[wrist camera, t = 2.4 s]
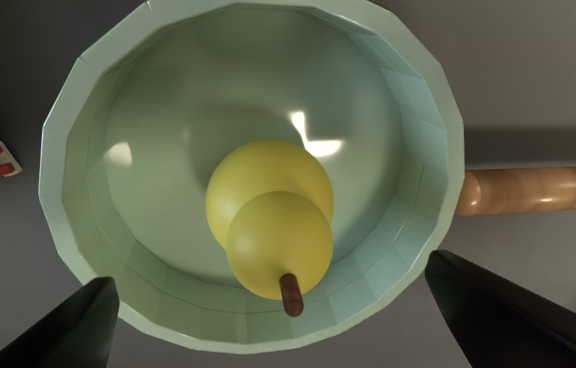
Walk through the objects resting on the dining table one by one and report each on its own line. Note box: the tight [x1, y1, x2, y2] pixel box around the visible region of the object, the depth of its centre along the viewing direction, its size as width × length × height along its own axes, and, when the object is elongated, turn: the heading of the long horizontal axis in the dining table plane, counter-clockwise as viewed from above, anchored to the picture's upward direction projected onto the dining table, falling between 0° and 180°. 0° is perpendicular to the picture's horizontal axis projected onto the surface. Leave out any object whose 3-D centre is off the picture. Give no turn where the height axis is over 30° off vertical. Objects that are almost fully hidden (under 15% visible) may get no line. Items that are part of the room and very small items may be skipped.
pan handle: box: [454, 166, 576, 216], centre depth 15 cm, size 2×12×2 cm, turn 88°
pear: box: [205, 139, 334, 317], centre depth 11 cm, size 5×5×8 cm
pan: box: [38, 0, 465, 354], centre depth 14 cm, size 15×15×4 cm
